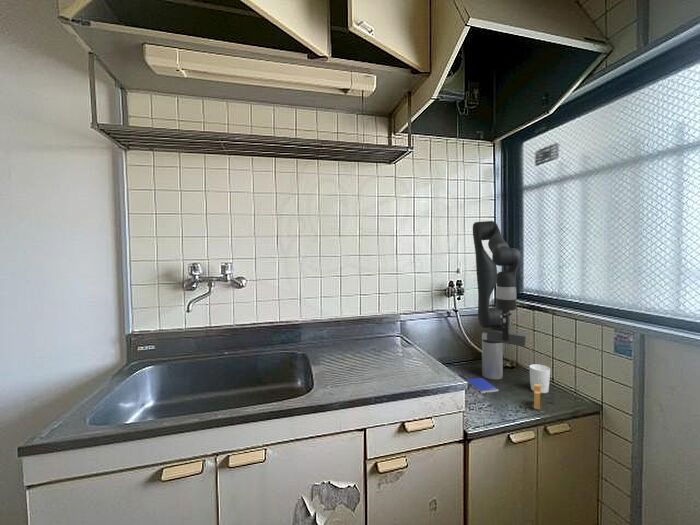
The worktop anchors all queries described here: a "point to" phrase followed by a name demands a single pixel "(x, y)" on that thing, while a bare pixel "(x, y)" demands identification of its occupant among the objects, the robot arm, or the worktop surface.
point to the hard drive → (482, 385)
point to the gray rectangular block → (497, 337)
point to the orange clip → (537, 396)
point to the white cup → (540, 377)
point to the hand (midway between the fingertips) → (505, 339)
